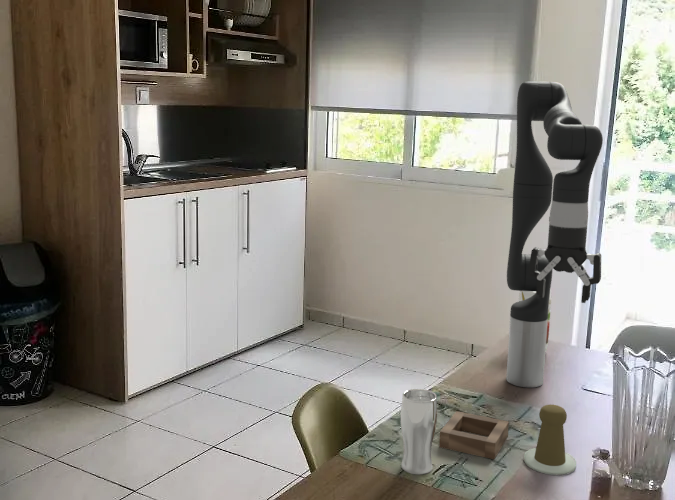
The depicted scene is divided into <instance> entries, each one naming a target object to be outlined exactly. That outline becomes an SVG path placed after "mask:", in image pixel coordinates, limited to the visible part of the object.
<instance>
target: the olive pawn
mask: <svg viewBox="0 0 675 500" xmlns="http://www.w3.org/2000/svg"><path fill="white" fill-rule="evenodd" d="M538 415H539V420H540V422H541V424H540V427H539V433H538V439H537V441H536V447H535V448H536V451H535V456H534V458H535V460H537V461H538V462H539V463H541V464H544V465H549V466H560V465H563V464H564V463H565V461H566V458H565V452H566V447H565V429H564V425H565V423H566V422H567V417H568V415H567V411H566V409H565V408H564V407H562V406H560V405H558V404H551V403H550V404H545V405H543V406H541V408H540V410H539V414H538Z"/></svg>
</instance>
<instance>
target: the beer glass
mask: <svg viewBox="0 0 675 500" xmlns="http://www.w3.org/2000/svg"><path fill="white" fill-rule="evenodd" d="M437 401H438V400H437V394H436V393H435V392H433V391H432V390H431V391H430V390H428V389H424V388H413V389H412V388H411V389H408V390H405V391H404V392H403V393H402V399H401V408H400V427H401V435H402V442H403V454H402V459H401V462H400V464H401V465H400V466H401V468H402V470H403V471H405V472H407V474H412V475H426V474H428V473H430V472H431V471H432V470H433V460H432V446H433V443H434V438H435V433H436V427H437V420H438V402H437Z"/></svg>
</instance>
